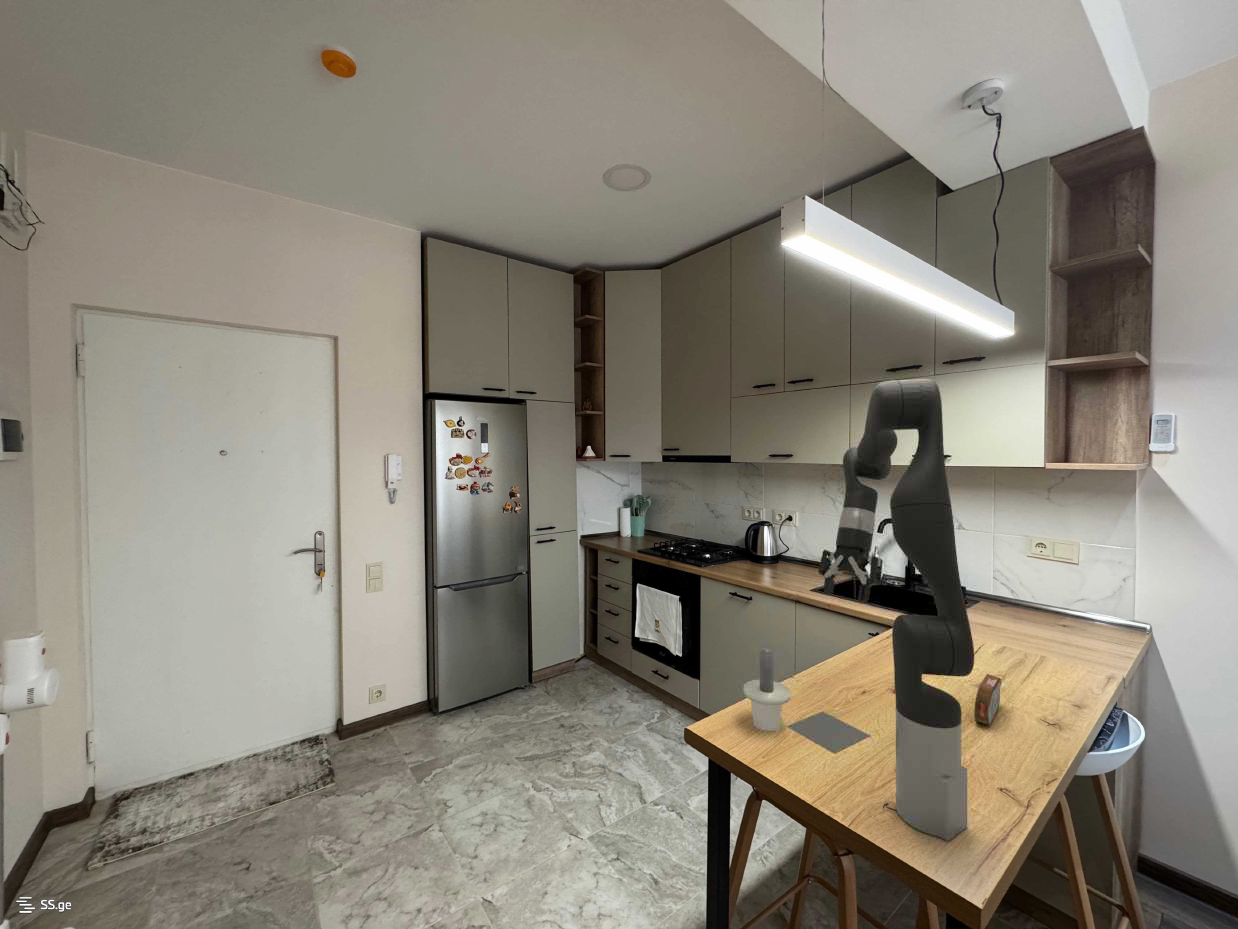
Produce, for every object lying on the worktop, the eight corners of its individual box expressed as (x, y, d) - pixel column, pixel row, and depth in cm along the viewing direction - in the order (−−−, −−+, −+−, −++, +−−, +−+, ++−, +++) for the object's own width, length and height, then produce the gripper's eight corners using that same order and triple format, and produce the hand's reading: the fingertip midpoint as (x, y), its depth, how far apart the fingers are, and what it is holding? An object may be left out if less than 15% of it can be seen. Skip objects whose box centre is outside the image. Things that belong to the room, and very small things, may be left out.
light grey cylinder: (761, 736, 108) (760, 703, 108) (744, 720, 115) (744, 689, 115) (789, 731, 110) (789, 699, 110) (771, 715, 116) (771, 685, 116)
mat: (871, 737, 107) (871, 735, 107) (834, 755, 101) (834, 753, 101) (822, 712, 117) (822, 711, 117) (786, 727, 111) (786, 726, 111)
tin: (986, 702, 121) (986, 667, 121) (1003, 707, 119) (1003, 671, 119) (972, 727, 111) (972, 689, 110) (990, 732, 108) (990, 693, 108)
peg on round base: (800, 697, 110) (800, 651, 110) (768, 709, 105) (767, 662, 105) (765, 680, 119) (765, 637, 119) (734, 690, 114) (733, 646, 114)
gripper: (819, 523, 124) (808, 590, 121) (875, 528, 112) (864, 601, 108) (838, 531, 127) (827, 595, 124) (894, 536, 115) (883, 607, 112)
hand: (844, 598), depth 116 cm, fingers open, 8 cm apart
